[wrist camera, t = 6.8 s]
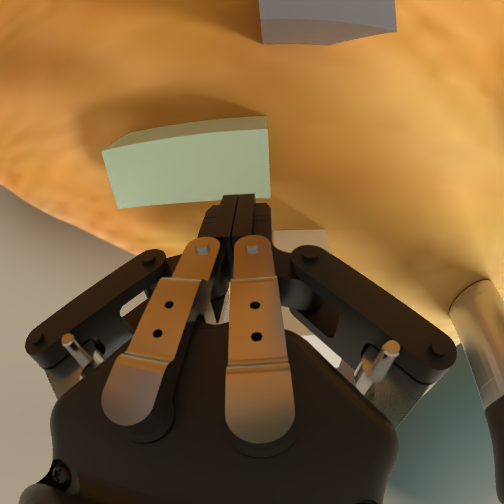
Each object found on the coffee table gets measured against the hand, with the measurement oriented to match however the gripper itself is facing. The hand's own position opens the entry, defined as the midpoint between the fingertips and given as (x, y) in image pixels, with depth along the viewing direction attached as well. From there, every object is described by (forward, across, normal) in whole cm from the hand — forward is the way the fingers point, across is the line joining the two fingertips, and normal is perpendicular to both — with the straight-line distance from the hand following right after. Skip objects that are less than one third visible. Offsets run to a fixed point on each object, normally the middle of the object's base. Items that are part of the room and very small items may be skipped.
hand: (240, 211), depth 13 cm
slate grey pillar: (+11, -4, -11) cm, 16 cm away
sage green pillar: (+8, -1, 0) cm, 9 cm away
